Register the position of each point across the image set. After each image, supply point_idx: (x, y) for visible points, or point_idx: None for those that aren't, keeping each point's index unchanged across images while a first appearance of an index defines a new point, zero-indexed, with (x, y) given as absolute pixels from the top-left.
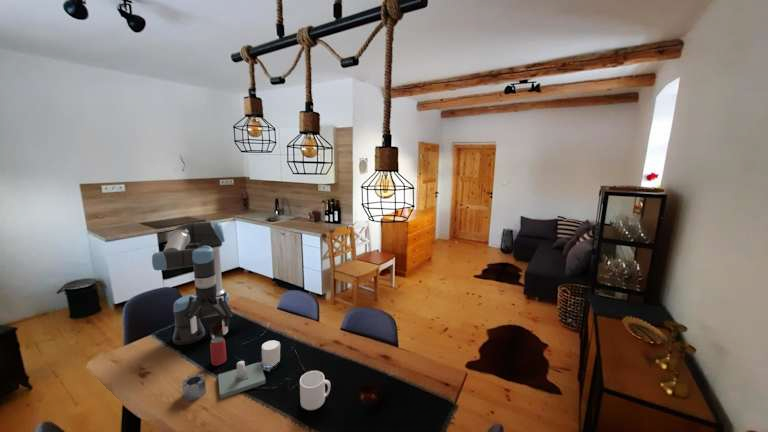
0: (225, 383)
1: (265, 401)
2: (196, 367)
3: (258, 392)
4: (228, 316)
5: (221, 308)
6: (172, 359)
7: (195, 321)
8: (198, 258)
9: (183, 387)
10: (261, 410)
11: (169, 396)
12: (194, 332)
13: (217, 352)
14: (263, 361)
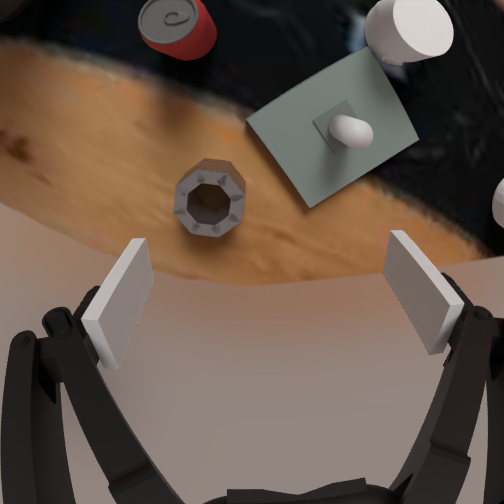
0: (300, 160)
1: (427, 204)
2: (129, 81)
3: (403, 173)
4: (495, 368)
5: (473, 413)
6: (34, 75)
7: (119, 298)
8: None
9: (195, 232)
10: (424, 231)
11: (149, 209)
12: (151, 268)
13: (193, 49)
14: (390, 60)
